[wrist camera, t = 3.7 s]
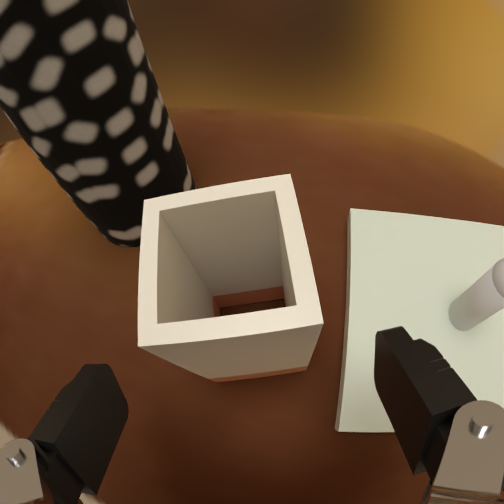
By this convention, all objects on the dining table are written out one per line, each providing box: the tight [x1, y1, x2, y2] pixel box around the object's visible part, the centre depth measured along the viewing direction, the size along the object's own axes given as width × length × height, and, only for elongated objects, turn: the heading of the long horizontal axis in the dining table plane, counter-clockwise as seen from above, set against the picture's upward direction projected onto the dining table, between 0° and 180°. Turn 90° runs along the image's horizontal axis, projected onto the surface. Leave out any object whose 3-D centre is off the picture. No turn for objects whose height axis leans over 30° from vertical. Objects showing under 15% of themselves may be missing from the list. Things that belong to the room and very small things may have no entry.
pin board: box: [335, 208, 504, 432], centre depth 14 cm, size 14×13×8 cm
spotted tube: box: [0, 0, 195, 247], centre depth 15 cm, size 8×8×20 cm
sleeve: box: [138, 174, 324, 382], centre depth 14 cm, size 5×5×10 cm
